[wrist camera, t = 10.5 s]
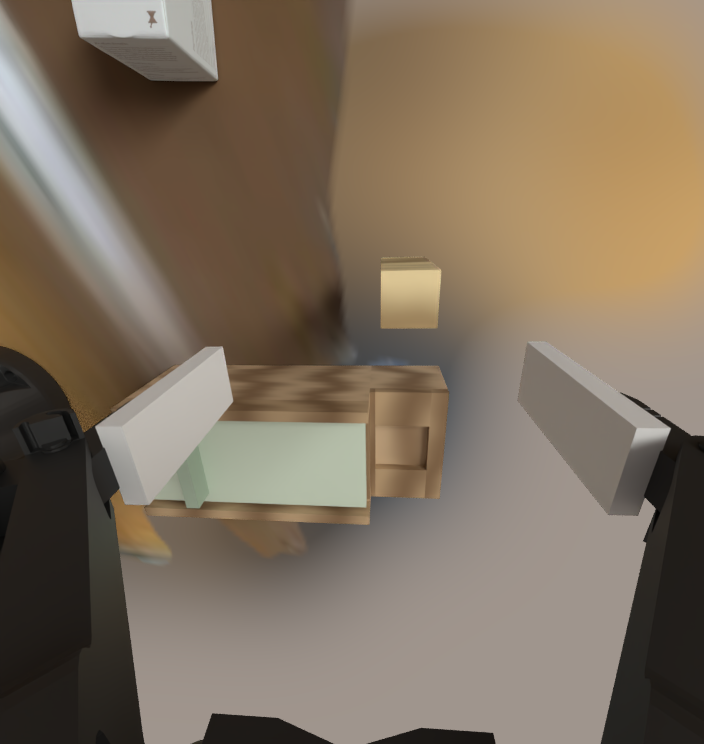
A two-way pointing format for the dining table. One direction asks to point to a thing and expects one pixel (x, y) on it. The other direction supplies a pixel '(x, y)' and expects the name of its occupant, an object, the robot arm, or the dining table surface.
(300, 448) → the lid
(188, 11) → the product box
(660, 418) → the robot arm
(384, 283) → the beige wooden block
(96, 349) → the dining table surface
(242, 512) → the toolbox
